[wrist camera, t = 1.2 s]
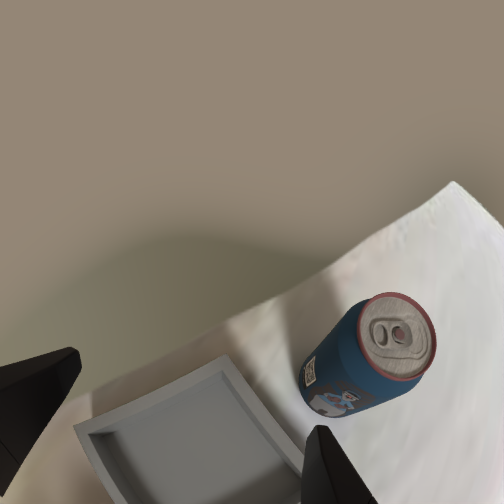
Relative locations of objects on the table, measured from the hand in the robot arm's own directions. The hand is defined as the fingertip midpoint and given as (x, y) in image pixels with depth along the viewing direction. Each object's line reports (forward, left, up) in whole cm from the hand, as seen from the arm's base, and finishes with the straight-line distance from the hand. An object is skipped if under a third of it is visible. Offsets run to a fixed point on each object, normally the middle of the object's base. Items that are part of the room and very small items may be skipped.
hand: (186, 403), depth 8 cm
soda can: (-3, -11, -15) cm, 19 cm away
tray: (-3, +3, -15) cm, 15 cm away
